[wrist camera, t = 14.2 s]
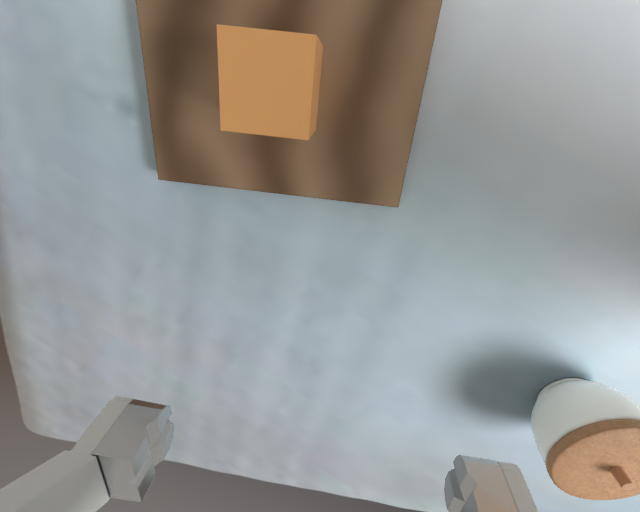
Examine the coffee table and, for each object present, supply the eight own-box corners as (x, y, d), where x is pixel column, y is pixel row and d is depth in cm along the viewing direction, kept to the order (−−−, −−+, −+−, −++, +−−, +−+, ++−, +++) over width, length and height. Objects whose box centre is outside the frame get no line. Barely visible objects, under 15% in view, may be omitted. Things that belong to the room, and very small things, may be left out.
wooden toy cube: (323, 45, 23) (316, 34, 18) (316, 129, 25) (308, 140, 20) (244, 37, 23) (216, 24, 18) (245, 122, 25) (220, 130, 20)
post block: (445, -38, 21) (472, -73, 17) (395, 201, 29) (405, 224, 24) (139, -68, 22) (82, -111, 17) (167, 175, 29) (132, 192, 24)
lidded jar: (548, 441, 41) (599, 532, 32) (494, 395, 38) (536, 482, 30) (639, 399, 37) (724, 491, 28) (586, 344, 34) (664, 429, 26)
